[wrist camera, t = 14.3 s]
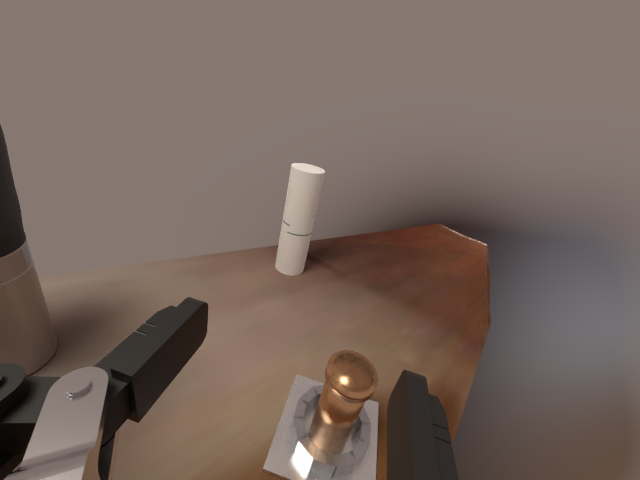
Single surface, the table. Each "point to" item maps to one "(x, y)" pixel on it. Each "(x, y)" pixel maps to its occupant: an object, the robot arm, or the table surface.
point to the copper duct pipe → (342, 399)
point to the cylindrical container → (298, 217)
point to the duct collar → (305, 457)
